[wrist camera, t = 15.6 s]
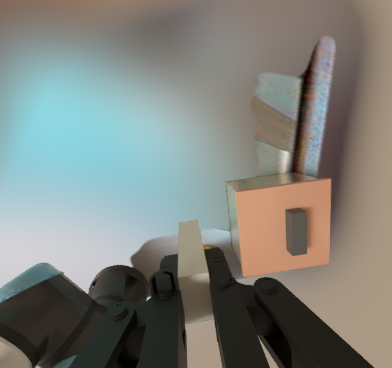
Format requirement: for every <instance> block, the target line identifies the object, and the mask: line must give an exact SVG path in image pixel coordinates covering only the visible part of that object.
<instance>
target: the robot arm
mask: <svg viewBox="0 0 392 368" xmlns="http://www.w3.org/2000/svg"><path fill="white" fill-rule="evenodd" d="M149 285H150V290H151V295H152V296H151V298H150V299H149V300H147V301H146V299H147V295H148V284H147V281H146V279H145V278H144V276H143V275H142V274H141V273H140V272H139V271H137V270H136V269H134V268H132V267H129V266H124V265H114V266H110V267H107V268H105V269H103V270H102V271H101V272H99V273H98V274H97V275H96V277H95V278H94V280H93V282H92V283H91V285H90V288H89V292H88V294H87V293H85V292H84V291H83V290H82V289H81V288H79V287H78V286H77V285H76V284H75V283H73V282H72V281H71V280H70V279H69V278H67V277H66V276H65V275H64V273H63V272H60V271H58V270H57V269H55V268H54V267H53V266H52V265H50V264H48V263H40V264H37V265H35V266H33V267H31V268H29V269H28V270H26V271H25V272H23V273H22V274H20V275H19V276H17V277H16V278H14V279H13V280H11V281H10V282H8V283H7V284H6V285H4V286H3V287H1V288H0V368H35V366H36V365H38V366H40V367H41V368H187V343H186V330H185V324H190V323H195V322H201V321H207V320H213V319H214V320H215V328H216V335H217V342H218V345H219V350H220V356H221V362H222V367H223V368H270V367H269V364H268V362H267V359H266V357H265V354H264V351H263V348H262V346H261V344H260V341H259V338H260V340H261V341H262V343H263V344H264V346H265V347H266V349H267V350H268V352H269V353H270V355H271V356H272V358H273V359H274V361H275V362H276V364H277V365H278V367H279V368H374V367H373V366H372V365H371V364H370V363H368V362H367V361H366V360H365V359H364V358H363V357H362V356H361V355H360V354H359V353H357V352H356V351H355V350H354V349H353V348H352V347H351V346H350V345H349V344H348V343H346V342H345V341H344V340H343V339H342V338H341V337H340V336H339V335H338V334H337V333H335V332H334V331H333V330H332V329H331V328H330V327H329V326H328V325H327V324H326V323H325V322H323V321H322V320H321V319H320V318H319V317H318V316H317V315H316V314H315V313H314V312H312V311H311V310H310V309H309V308H308V307H307V306H306V305H305V304H304V303H303V302H301V301H300V300H299V299H298V298H297V297H296V296H295V295H293V294H292V292H290V291H289V290H288V289H287V288H286V287H285V286H284V285H283V284H282V283H280V282H279V281H277V280H276V279H273V278H268V277H264V278H259V279H258V280H256V281H255V283H254V286H252V285H244V284H241V283H238V282H237V281H236V280H235V278H233V277H232V275H231V272H230V269H229V267H228V264H227V261H226V259H225V256H224V253H223V251H222V250H221V249H219V248H218V247H217V248H210V249H204V248H203V244H202V239H201V234H200V229H199V224H198V220H193V221H187V222H180V223H179V243H178V254H176V255H169V256H165V257H164V258H163V259H162V261H161V264H160V270H159V271H158V272H156V273H154V274H153V275H152V276H151V277H150V279H149ZM257 335H258V336H259V338H258V336H257Z"/></svg>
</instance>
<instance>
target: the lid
mask: <svg viewBox="0 0 392 368" xmlns="http://www.w3.org/2000/svg"><path fill="white" fill-rule="evenodd" d="M235 197H236V208H237V219H238V231H239V242H240V253H241V265H242V274H243V277H244V278H245V277H251V276H257V275H263V274H269V273H275V272H281V271H287V270H293V269H300V268H305V267H312V266H318V265H324V264H329V257H330V256H329V255H330V252H329V251H330V212H331V209H330V208H331V179H330V178H322V179H314V180H308V181H301V182H294V183H287V184H280V185H273V186H266V187H259V188H252V189H245V190H238V191H235Z"/></svg>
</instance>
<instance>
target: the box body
mask: <svg viewBox="0 0 392 368" xmlns="http://www.w3.org/2000/svg"><path fill="white" fill-rule="evenodd" d="M314 179H318V178H314V177H310V176H307V175H303V174H300V173H296V172H290V173H283V174H276V175H269V176H261V177H255V178H249V179H240V180H233V181H226V192H227V202H228V212H229V222H230V233H231V243H232V247H233V249H234V251H235V253H236V255H237V257H238V259H239V261H240V264H241V253H240V242H239V231H238V219H237V208H236V197H235V191H238V190H245V189H252V188H259V187H266V186H273V185H280V184H287V183H294V182H301V181H308V180H314ZM241 266H242V265H241Z"/></svg>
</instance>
